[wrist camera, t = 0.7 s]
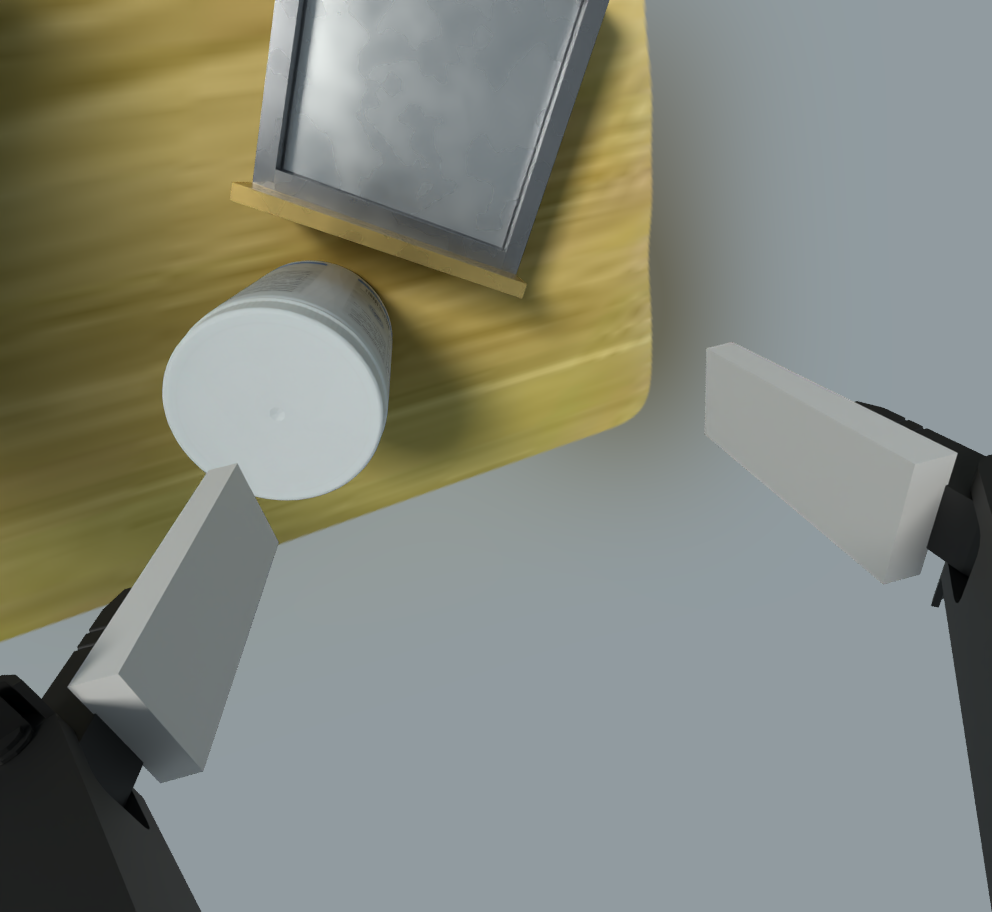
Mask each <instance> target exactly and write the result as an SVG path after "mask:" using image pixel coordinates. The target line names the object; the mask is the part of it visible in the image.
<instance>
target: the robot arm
mask: <svg viewBox="0 0 992 912" xmlns="http://www.w3.org/2000/svg"><path fill="white" fill-rule="evenodd" d="M705 435H706V436H707V437H708V438H710V439H711V440H712V441H713V442H714V443H716V444H717V445H718V446H719V447H720V448H722V449H723V450H724V451H725V452H726V453H728V454H729V455H730V456H731V457H732V458H733V459H735V460H736V461H737V462H738V463H739V464H741V465H742V466H743V467H744V468H746V469H747V470H748V471H749V472H750V473H751V474H753V475H754V476H755V477H756V478H757V479H758V480H760V481H761V482H762V483H763V484H764V485H766V486H767V487H768V488H769V489H770V490H772V491H773V492H774V493H775V494H776V495H777V496H779V497H780V498H781V499H782V500H784V501H785V502H786V503H787V504H788V505H789V506H791V507H792V508H793V509H794V510H795V511H797V512H798V513H799V514H800V515H801V516H802V517H804V518H805V519H806V520H807V521H808V522H810V523H811V524H812V525H813V526H814V527H816V528H817V529H818V530H819V531H820V532H822V533H823V534H824V535H825V536H826V537H827V538H829V539H830V540H831V541H832V542H833V543H835V544H836V545H837V546H838V547H839V548H841V549H842V550H843V551H844V552H845V553H847V554H848V555H849V556H850V557H851V558H852V559H854V560H855V561H856V562H857V563H858V564H860V565H861V566H862V567H863V568H864V569H866V570H867V571H868V572H869V573H871V574H872V575H873V576H874V577H875V578H876V579H877V580H879V581H880V582H881V583H882V584H887V583H890V582H893V581H897V580H901V579H905V578H908V577H912V576H916V575H919V574H920V573H921V570H922V567H923V563H924V560H925V557H926V554H927V550H930V551H931V552H933V553H934V554H935V555H937V556H938V557H940V558H941V559H943V560H944V561H945V565H944V567H943V570H942V573H941V576H940V579H939V582H938V585H937V588H936V591H935V594H934V597H933V601H932V604H931V606H934V607H939V605H940V602H941V600H942V599H944V601H945V608H946V614H947V621H948V627H949V634H950V640H951V647H952V653H953V659H954V667H955V673H956V680H957V686H958V693H959V699H960V705H961V712H962V718H963V725H964V731H965V738H966V745H967V752H968V758H969V765H970V771H971V778H972V784H973V791H974V798H975V804H976V811H977V817H978V823H979V830H980V837H981V843H982V850H983V856H984V863H985V870H986V876H987V882H988V889H989V896H990V902H991V909H992V455H988V456H984V455H982V454H980V453H978V452H976V451H974V450H972V449H969V448H967V447H965V446H963V445H961V444H959V443H957V442H955V441H952V440H950V439H948V438H946V437H944V436H942V435H940V434H938V433H936V432H934V431H932V430H929V429H923V426H921V425H919V424H917V423H915V422H912V421H910V420H907V421H906V420H905V418H904V417H902V416H900V415H898V414H896V413H894V412H891V411H889V410H887V409H885V408H882V407H878V406H874V405H870V404H866V403H862V402H858V401H856V402H853V401H851V400H849V399H847V398H845V397H843V396H841V395H839V394H837V393H835V392H833V391H831V390H829V389H827V388H825V387H822V386H821V385H818V384H816V383H815V382H813V381H811V380H808V379H806V378H804V377H802V376H800V375H798V374H796V373H794V372H792V371H790V370H788V369H786V368H784V367H782V366H780V365H778V364H776V363H774V362H772V361H770V360H768V359H766V358H764V357H762V356H760V355H758V354H756V353H754V352H752V351H750V350H747V349H745V348H744V347H741V346H739V345H737V344H735V343H733V342H730V343H726V344H722V345H718V346H714V347H710V348H706V395H705ZM278 543H279V542H278V540H277V538H276V536H275V534H274V532H273V531H272V529H271V527H270V525H269V523H268V521H267V519H266V517H265V515H264V513H263V511H262V509H261V508H260V506H259V504H258V502H257V500H256V498H255V496H254V494H253V492H252V490H251V488H250V486H249V484H248V483H247V481H246V479H245V477H244V475H243V473H242V471H241V469H240V467H239V465H238V463H236V464H232V465H228V466H224V467H219V468H215V469H211V470H208V472H207V473H206V475H205V476H204V478H203V479H202V481H201V483H200V484H199V486H198V487H197V489H196V490H195V492H194V493H193V495H192V496H191V498H190V499H189V501H188V502H187V504H186V506H185V507H184V509H183V510H182V512H181V513H180V515H179V516H178V518H177V519H176V521H175V522H174V524H173V526H172V527H171V529H170V530H169V532H168V533H167V535H166V536H165V538H164V539H163V541H162V542H161V544H160V545H159V547H158V549H157V550H156V552H155V553H154V555H153V556H152V558H151V559H150V561H149V562H148V564H147V565H146V567H145V568H144V570H143V572H142V573H141V575H140V576H139V578H138V579H137V581H136V582H135V584H134V585H133V587H132V588H128V589H125V590H123V591H122V592H121V593H120V594H119V595H118V596H117V597H116V598H115V599H114V600H113V601H112V602H110V603H109V604H108V605H107V606H106V607H105V608H104V609H103V611H102V612H101V613H100V615H99V616H98V617H97V619H96V620H95V622H94V623H93V625H92V626H91V628H90V629H89V631H90V633H88V634H86V635H85V636H84V638H83V639H82V641H81V642H80V644H79V645H78V651H74V652H73V654H72V655H71V657H70V658H69V660H68V661H67V663H66V664H65V666H64V667H63V669H62V670H61V672H60V673H59V674H58V676H57V677H56V679H55V680H54V682H53V683H52V685H51V686H50V687H49V689H48V690H47V692H46V693H45V695H44V696H43V698H42V699H41V698H40V697H39V696H38V695H37V694H36V693H35V692H34V691H33V690H32V689H31V688H29V686H27V685H26V683H24V681H22V680H21V679H20V678H19V677H18V676H16V675H1V676H0V912H201V910H200V908H199V906H198V905H197V903H196V900H195V899H194V896H193V895H192V893H191V891H190V889H189V887H188V885H187V883H186V881H185V879H184V877H183V875H182V873H181V871H180V869H179V867H178V865H177V863H176V861H175V859H174V857H173V855H172V853H171V851H170V850H169V848H168V845H167V844H166V842H165V840H164V838H163V836H162V834H161V832H160V830H159V828H158V826H157V824H156V822H155V820H154V818H153V816H152V814H151V812H150V810H149V808H148V806H147V804H146V802H145V800H144V799H143V797H142V796H141V795H140V794H139V793H138V792H137V791H136V790H135V789H134V788H133V786H134V784H135V782H136V779H137V777H138V775H139V772H140V770H141V768H142V766H144V767H145V768H146V769H147V770H148V771H149V772H150V773H151V774H152V775H153V776H154V777H155V778H156V779H157V780H158V781H159V782H160V783H163V782H167V781H170V780H174V779H177V778H181V777H185V776H188V775H192V774H195V773H199V772H203V770H204V767H205V764H206V761H207V758H208V755H209V752H210V749H211V746H212V743H213V740H214V737H215V734H216V731H217V728H218V725H219V722H220V719H221V716H222V713H223V710H224V707H225V704H226V700H227V698H228V694H229V691H230V688H231V686H232V682H233V679H234V676H235V673H236V670H237V667H238V664H239V661H240V658H241V655H242V652H243V649H244V646H245V643H246V640H247V637H248V634H249V631H250V628H251V625H252V622H253V619H254V616H255V613H256V610H257V607H258V603H259V601H260V597H261V595H262V592H263V589H264V585H265V582H266V579H267V576H268V573H269V570H270V567H271V564H272V561H273V558H274V555H275V552H276V549H277V546H278Z"/></svg>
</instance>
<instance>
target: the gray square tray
mask: <svg viewBox="0 0 992 912" xmlns="http://www.w3.org/2000/svg"><path fill="white" fill-rule="evenodd" d="M608 3H609V0H275V6H274V14H273V22H272V30H271V38H270V47H269V55H268V63H267V71H266V79H265V87H264V95H263V103H262V111H261V119H260V127H259V135H258V143H257V151H256V159H255V167H254V175H253V183H250V182H232V185H231V195H230V200H231V201H234V202H237V203H240V204H243V205H246V206H249V207H252V208H254V209H257V210H260V211H263V212H266V213H269V214H272V215H275V216H278V217H281V218H284V219H287V220H290V221H293V222H296V223H299V224H302V225H305V226H308V227H311V228H314V229H317V230H320V231H323V232H326V233H329V234H332V235H335V236H338V237H341V238H343V239H346V240H349V241H352V242H355V243H358V244H361V245H364V246H367V247H370V248H373V249H376V250H379V251H382V252H385V253H388V254H391V255H394V256H397V257H400V258H403V259H406V260H409V261H412V262H415V263H418V264H421V265H424V266H427V267H430V268H432V269H435V270H438V271H441V272H444V273H447V274H450V275H453V276H456V277H459V278H462V279H465V280H468V281H471V282H474V283H477V284H480V285H483V286H486V287H489V288H492V289H495V290H498V291H501V292H504V293H507V294H510V295H513V296H516V297H518V298H521V299H522V298H523V295H524V292H525V289H526V286H527V284H526V283H525V282H524V281H523V280H522V279H520V278H519V277H518V276H517V275H516V273H517V270H518V267H519V264H520V261H521V258H522V256H523V253H524V250H525V247H526V244H527V241H528V238H529V235H530V232H531V229H532V226H533V223H534V220H535V217H536V214H537V211H538V209H539V206H540V203H541V200H542V197H543V194H544V191H545V188H546V185H547V182H548V179H549V176H550V173H551V170H552V167H553V164H554V161H555V159H556V156H557V153H558V150H559V147H560V144H561V141H562V138H563V135H564V132H565V129H566V126H567V123H568V120H569V117H570V114H571V111H572V109H573V106H574V103H575V100H576V97H577V94H578V91H579V88H580V85H581V82H582V79H583V76H584V73H585V70H586V67H587V64H588V61H589V59H590V56H591V53H592V50H593V47H594V44H595V41H596V38H597V35H598V32H599V29H600V26H601V23H602V20H603V17H604V14H605V11H606V9H607V6H608Z"/></svg>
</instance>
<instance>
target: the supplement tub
mask: <svg viewBox="0 0 992 912" xmlns="http://www.w3.org/2000/svg"><path fill="white" fill-rule="evenodd" d="M391 356H392V328H391V322H390V318H389V315H388V312H387V310H386V308H385V306H384V304H383V302H382V300H381V299H380V297H379V296H378V295H377V293H376V292H375V291H374V289H373V288H372V287H371V286H370V285H369V284H368V283H367V282H365V281H364V280H363V279H362V278H361V277H359V276H358V275H357V274H355V273H353V272H352V271H350V270H348V269H346V268H344V267H341V266H339V265H336V264H332V263H329V262H323V261H298V262H292V263H289V264H286V265H283V266H281V267H279V268H277V269H275V270H273V271H271V272H270V273H268V274H267V275H265V276H263V277H262V278H260V279H259V280H257V281H256V282H254V283H253V284H251V285H250V286H248V287H247V288H245V289H244V290H242V291H241V292H239V293H238V294H236V295H235V296H233V297H232V298H230V299H228V300H227V301H225V302H224V303H222V304H221V305H219V306H218V307H216V308H215V309H213V310H212V311H211V312H209V313H208V314H206V315H205V316H204V317H203V318H202V319H200V320H199V321H198V322H197V323H196V324H195V325H194V326H193V327H192V328H191V329H190V330H189V331H188V333H187V334H186V335H185V337H184V338H183V339H182V340H181V342H180V343H179V344H178V345H177V346H176V348H175V350H174V351H173V353H172V355H171V357H170V359H169V361H168V364H167V367H166V370H165V374H164V379H163V389H162V398H163V406H164V410H165V414H166V418H167V421H168V424H169V426H170V429H171V431H172V433H173V435H174V437H175V438H176V440H177V442H178V443H179V445H180V446H181V448H182V449H183V450H184V452H185V453H186V454H187V455H188V457H189V458H190V459H191V460H192V461H193V462H194V463H195V464H196V465H197V466H198V467H199V468H201V469H202V470H203V471H204V472H206V473H207V472H208V470H211V469H215V468H219V467H224V466H228V465H232V464H236V463H238V465H239V467H240V469H241V471H242V473H243V475H244V477H245V479H246V481H247V483H248V484H249V486H250V488H251V490H252V492H253V494H254V496H256V497H260V498H265V499H273V500H301V499H307V498H312V497H316V496H320V495H323V494H326V493H329V492H331V491H333V490H336V489H338V488H340V487H341V486H343V485H345V484H346V483H348V482H349V481H350V480H352V479H353V478H354V477H356V476H357V475H358V474H359V473H360V472H361V471H362V470H363V469H364V467H365V466H366V465H367V464H368V462H369V461H370V460H371V458H372V456H373V455H374V453H375V451H376V449H377V447H378V444H379V442H380V438H381V436H382V433H383V431H384V428H385V424H386V419H387V412H388V401H389V387H390V372H391Z"/></svg>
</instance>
